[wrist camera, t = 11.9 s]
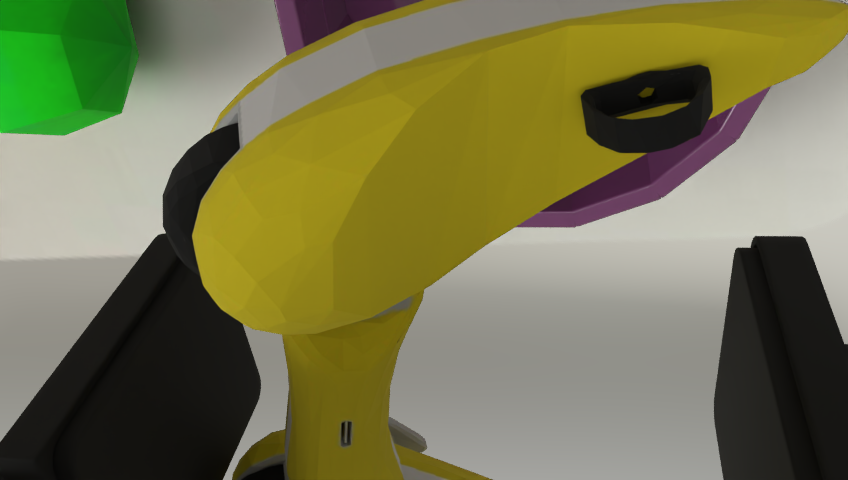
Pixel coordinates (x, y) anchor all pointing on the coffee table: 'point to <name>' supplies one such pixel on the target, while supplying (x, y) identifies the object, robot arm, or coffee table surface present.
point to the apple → (63, 64)
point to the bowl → (613, 193)
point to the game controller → (438, 176)
